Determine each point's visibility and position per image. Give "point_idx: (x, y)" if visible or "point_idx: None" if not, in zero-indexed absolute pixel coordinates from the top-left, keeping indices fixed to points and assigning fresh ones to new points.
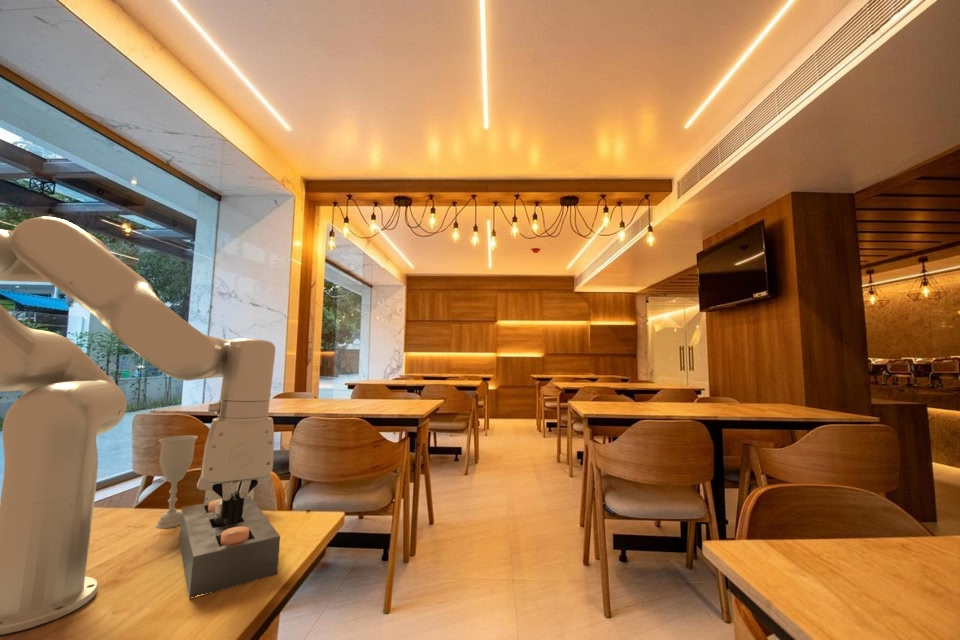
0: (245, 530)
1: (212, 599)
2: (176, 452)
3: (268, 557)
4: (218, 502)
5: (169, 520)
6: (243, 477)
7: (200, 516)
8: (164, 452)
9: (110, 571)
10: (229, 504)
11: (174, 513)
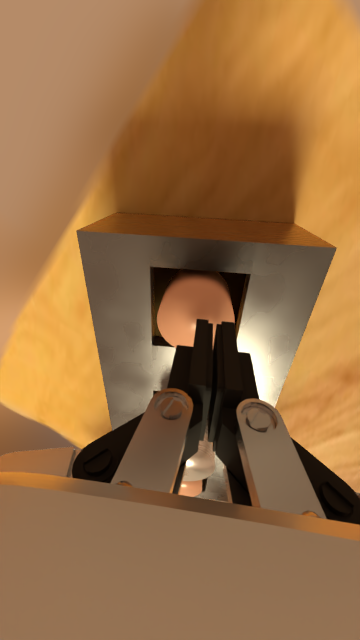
0: (169, 310)
1: (259, 187)
2: None
3: (126, 221)
4: (208, 468)
5: None
6: (180, 537)
7: None
8: None
9: (337, 410)
10: (239, 375)
11: (226, 501)
